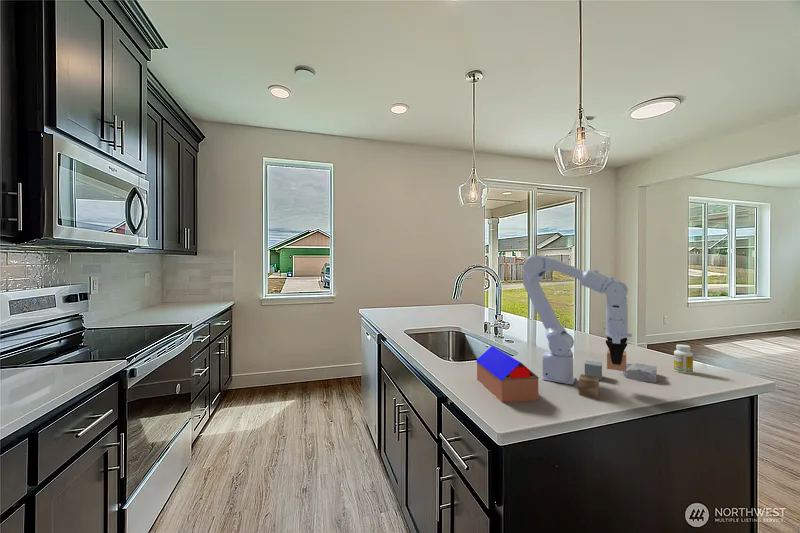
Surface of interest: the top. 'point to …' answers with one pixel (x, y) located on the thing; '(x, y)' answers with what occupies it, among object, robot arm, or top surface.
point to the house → (506, 377)
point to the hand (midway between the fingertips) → (616, 361)
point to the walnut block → (589, 386)
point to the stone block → (641, 372)
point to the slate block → (593, 369)
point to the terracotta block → (615, 366)
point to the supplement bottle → (683, 359)
